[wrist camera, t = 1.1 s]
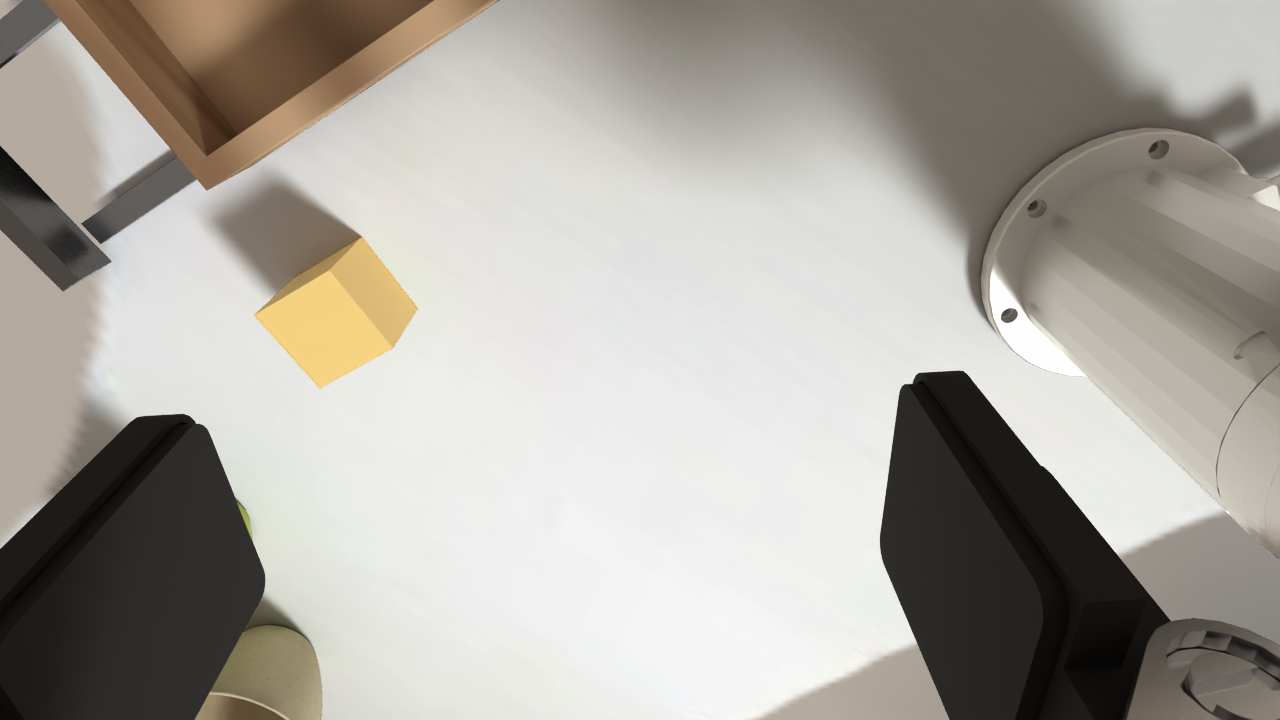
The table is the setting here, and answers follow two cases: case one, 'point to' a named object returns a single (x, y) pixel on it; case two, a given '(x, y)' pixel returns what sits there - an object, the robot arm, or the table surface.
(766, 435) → the table surface
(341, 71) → the wooden crate
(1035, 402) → the table surface
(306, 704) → the flower pot
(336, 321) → the block
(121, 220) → the rail
